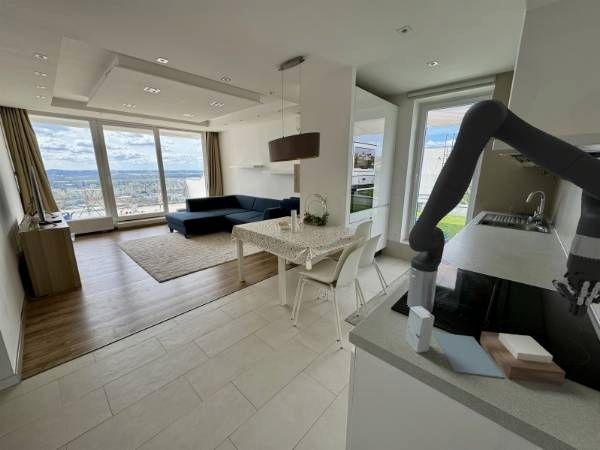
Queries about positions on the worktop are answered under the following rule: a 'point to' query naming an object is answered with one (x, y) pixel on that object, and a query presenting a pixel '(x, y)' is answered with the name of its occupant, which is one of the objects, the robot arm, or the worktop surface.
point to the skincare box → (419, 329)
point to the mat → (467, 355)
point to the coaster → (525, 348)
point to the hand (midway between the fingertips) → (575, 315)
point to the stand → (520, 363)
